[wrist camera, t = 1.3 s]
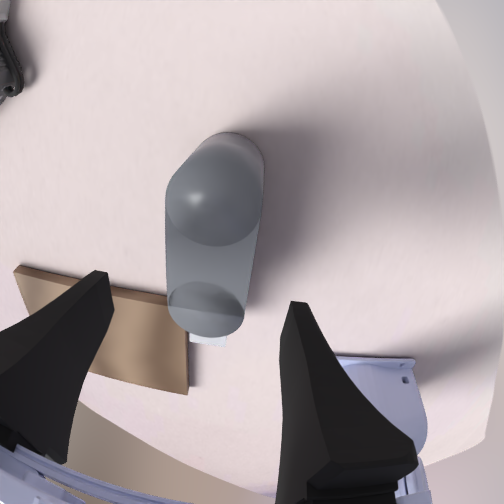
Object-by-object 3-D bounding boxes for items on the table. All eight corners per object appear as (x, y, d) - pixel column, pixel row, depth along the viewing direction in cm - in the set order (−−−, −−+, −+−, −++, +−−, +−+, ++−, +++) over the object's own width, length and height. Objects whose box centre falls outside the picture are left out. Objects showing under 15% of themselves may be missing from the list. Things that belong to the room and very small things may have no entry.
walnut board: (187, 299, 22) (184, 309, 21) (189, 387, 29) (187, 395, 28) (19, 265, 22) (13, 271, 21) (53, 352, 28) (49, 358, 27)
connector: (269, 137, 16) (269, 164, 12) (241, 315, 23) (235, 370, 18) (194, 129, 16) (166, 152, 11) (187, 307, 23) (171, 360, 18)
